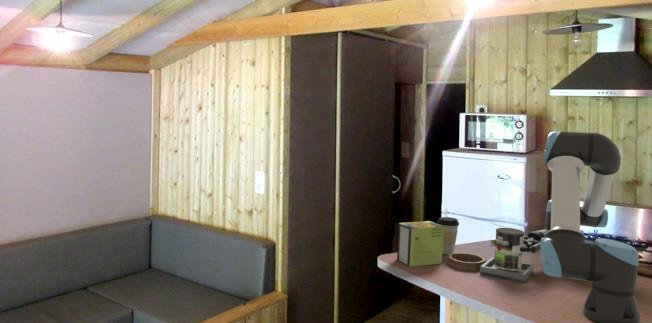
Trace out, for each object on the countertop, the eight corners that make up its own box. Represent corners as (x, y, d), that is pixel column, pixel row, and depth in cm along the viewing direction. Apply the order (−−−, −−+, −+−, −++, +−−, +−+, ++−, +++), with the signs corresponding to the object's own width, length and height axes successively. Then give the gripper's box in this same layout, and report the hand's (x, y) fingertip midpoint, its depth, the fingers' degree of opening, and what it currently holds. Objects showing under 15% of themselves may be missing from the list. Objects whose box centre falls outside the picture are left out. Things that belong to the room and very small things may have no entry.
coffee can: (507, 272, 187) (510, 234, 186) (487, 264, 197) (490, 228, 195) (528, 269, 192) (530, 232, 190) (507, 261, 201) (510, 226, 200)
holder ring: (478, 272, 194) (478, 265, 193) (443, 265, 202) (443, 258, 201) (489, 264, 205) (489, 257, 205) (455, 257, 213) (456, 250, 213)
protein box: (442, 263, 204) (444, 226, 203) (409, 267, 199) (411, 228, 197) (428, 256, 214) (429, 220, 212) (396, 259, 208) (397, 222, 207)
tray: (523, 283, 183) (524, 275, 183) (480, 274, 192) (480, 266, 192) (533, 272, 197) (534, 264, 196) (492, 264, 205) (492, 257, 205)
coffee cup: (458, 256, 215) (460, 222, 213) (435, 254, 217) (437, 220, 215) (456, 250, 224) (458, 217, 223) (435, 249, 226) (437, 216, 225)
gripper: (564, 256, 193) (526, 264, 182) (515, 242, 213) (477, 248, 201) (565, 237, 192) (527, 244, 181) (516, 225, 212) (479, 230, 200)
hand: (501, 246), depth 191 cm, fingers closed on coffee can, 10 cm apart
